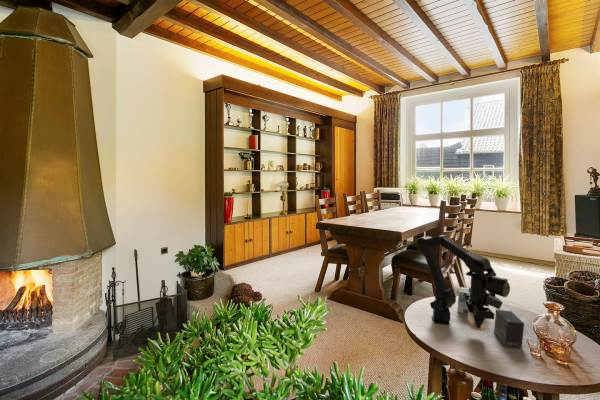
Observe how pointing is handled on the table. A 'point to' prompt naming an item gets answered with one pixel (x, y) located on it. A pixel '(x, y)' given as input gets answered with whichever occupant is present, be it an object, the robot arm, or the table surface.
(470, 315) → the birch cube
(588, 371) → the table surface
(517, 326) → the small box
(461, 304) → the light bulb box
